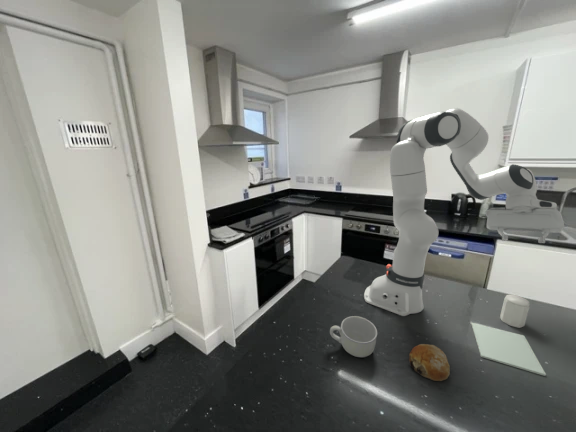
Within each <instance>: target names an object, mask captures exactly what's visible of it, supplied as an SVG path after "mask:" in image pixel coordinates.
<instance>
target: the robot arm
mask: <svg viewBox="0 0 576 432" xmlns="http://www.w3.org/2000/svg"><path fill="white" fill-rule="evenodd" d="M396 138H397V140H396V143H395V144H394V145H393V146H392V147H391V150H390V154H389V170H390V171H389V173H390V180H391V188H392V190H391V191H392V197H393V200H392V201H393V202H392V213H393V214H392V220H393V225H394V227H395V228H396V229H397V231H398V233H399V235H398V237H399V238H398V240H397V241H398V242H397V244H396V247H395V248H394V250H393V257H392V264H390V263H388V264H387V265H386V266H385V268H386V269H385V270H386V272H385V274H384V275H381V276H378V277H376V278H374V280H373V281H372V283H371V284H370V285H369V286H367V287H366V289H365V290H364V293H363V298H364V301H365V303H368V304H370V305H373V306H375V307H378V308H380V309H383V310H386V311H388V312H390V313H391V312H392V313H394V314H397V315H399V316H401V317H406V316H408V315H410V314H418V313H420V312H423V310H424V302H423V288H424V285H425V271H424V270H425V267H426V265H425V264H426V259H427V255H428V251H429V250H430V247H431V245H432V244H434V243H435V242H436V240H437V239H438V237H439V228H438V225H437V224H436V221H435V220H434V219H433V218H432V217H431V216H430V215H428V214H426V211H425V199H426V196H427V194H428V193H427V192H428V185H427V177H426V176H427V175H426V165H425V159H424V157H425V152H426V150H428V149H431V148H432V149H433V148H437V147H442V146H447V147H448V148H449V150H450V151H451V153H450V155H449V160H450V161H449V162H450V163H451V165H452V167H453V168H454V170H455V172H456V173H457V175H458V177H459V178H460V180H461V181H462V183H463V184H464V185H465V187H466V189H467V192H468V193H469V195H470V196H471V197H472V198H474V199H477V200H480V201H483V200H486V199H488V198H489V199H490V198H492V197H494V196H499V195H503V194H505V195H506V199H505V207H490V208H488V209H486V210H485V216H486V218H487V220H486V229H487V230H489V231H498V234H499V235H500V236H501V239H502V242H503V241H504V242H506V241H507V242H508V240H509V235H508V234H505V233H504V232H505V231H509V232H510V231H511V232H527V233H529V232H531V233H541V234H542V236H538V238H537V240H538V243H539V244H545V243H546V238H547V237H548V236H549V234H550V233H554V234H559V233H561V232H562V231H563V230H564V229H565V221H564V218H563V215H562V213H561V212H560V210H558V205H557V203H556V202H553V201H547V200H542V199H538V196H537V195H536V194H537V192H538V186H537V180H536V178H535V175H534V172H533V171H532V170H531V169H529V168H526V167H524V166H521V165H518V164H510V165H506V166H503V167H499V168H497V169H494V170H492V171H489V172H485V173H482V174H477V173H476V172H475V170H474V169H473V167H472V166H471V164H470V163H471V162H472V161H473V160H474V159H476V158H477V157H478V156H480V154H482V152H483V151H484V150H485V148H487V145H488V143H489V134H488V132H487V130H486V128H485V127H484V126H483V125H482V124H481V123H480V121H478V120H477V119H476V118H475V117H473V116H472V115H471V114H469V113H468V112H466V111H465V110H463V109H461V108H458V107H456V108H455V107H454V108H450V109H447V110H445V111H437V112H435V113H431V114H426V115H421V116H418V117H416V118H414V119H410V120H408V121H407V122H405V123H403V124H402V125H401V127H400V128H399V131H398V133H397V137H396Z"/></svg>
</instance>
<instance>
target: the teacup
mask: <svg viewBox="0 0 576 432" xmlns="http://www.w3.org/2000/svg"><path fill="white" fill-rule="evenodd" d="M334 331H338V332H339V335H340V336H338V335H337V334H335V333H334ZM329 334H330V336H331V338H333V339H334V340H335V341H337V342H338V343H339V344H341V345H342V347H343V349H344V351H346V352H347V353H348V354H349V355H351V356H354V357H355V358H366V357H368V356H371V354H373V352H374V350H375V347H376V343H377V336H378V330H377V327H376V326H375V324H374V323H373V322H371V320H368V319H367V318H365V317H362V316H358V315H354V316H353V315H352V316H347V317H346V318H344V319H343V320H342V321H341V323H340V326H339V325H333V326H331V327H330V329H329Z"/></svg>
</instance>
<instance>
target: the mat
mask: <svg viewBox="0 0 576 432" xmlns="http://www.w3.org/2000/svg"><path fill="white" fill-rule="evenodd" d="M471 327H472V331H473V335H474V338H475V341H476V345H477V347H478V351H479V355H480V357H481V358H484V359H486V360H491V361H494V362H497V363H501V364H504V365H507V366H510V367H513V368H518V369H520V370H523V371H527V372H530V373H533V374H537V375H541V376H544V377H546V375H547V373H546V372H545V370H544V368H543V367H542V365H541V363H540V362H539V359H538V357H537V356H536V354H535V353H534V351H533V349H532V347H531V346H530V344H529V341H528V340H527V338H526V337H525V335H523V334H519V333H516V332H511V331H507V330H503V329H499V328H496V327H495V328H494V327H492V326H488V325H484V324H481V323H475V322H471Z"/></svg>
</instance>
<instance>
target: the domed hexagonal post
mask: <svg viewBox="0 0 576 432" xmlns="http://www.w3.org/2000/svg"><path fill="white" fill-rule="evenodd" d="M502 303H503V304H502V308H501V310H500V311H501V312H500V316H499V318H500V319H501V321H502V322H503V323H504V324H506V325H509V327H510V326H511V327H514V328H520V329H521V328H522V327H523V328H524V327H525V325H526V321H527V318H528V314H529V310H530V306H531V305H530V301H529V300H528V299H526V298H524V297H523V296H519V295H516V294H506V295H505V297H504V300H503V302H502Z"/></svg>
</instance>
